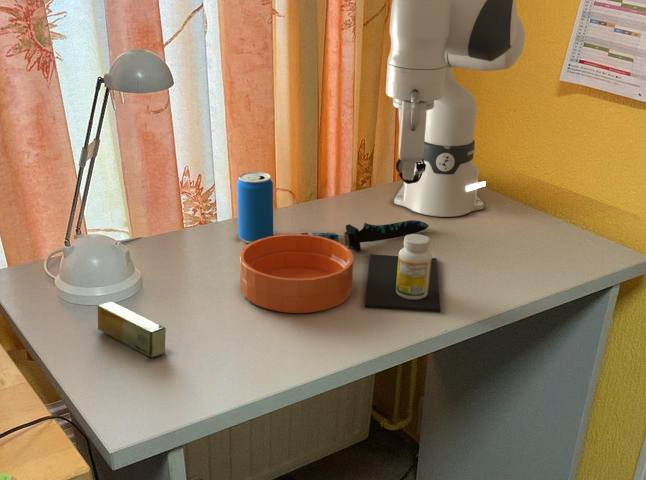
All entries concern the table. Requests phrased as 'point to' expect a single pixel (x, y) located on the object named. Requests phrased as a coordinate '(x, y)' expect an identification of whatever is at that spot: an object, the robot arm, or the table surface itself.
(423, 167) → the smartwatch
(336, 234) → the knife
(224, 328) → the table surface
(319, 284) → the bowl
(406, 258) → the supplement bottle
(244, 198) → the beverage can
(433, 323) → the table surface
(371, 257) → the mat
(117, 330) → the medication box
